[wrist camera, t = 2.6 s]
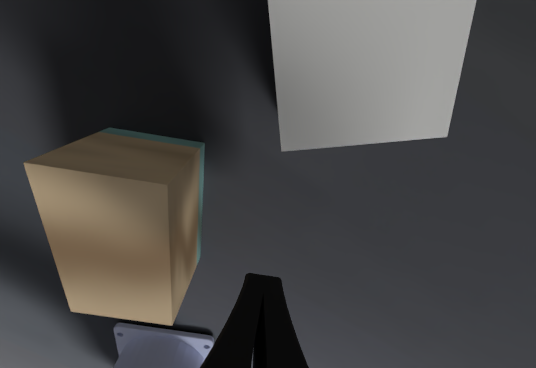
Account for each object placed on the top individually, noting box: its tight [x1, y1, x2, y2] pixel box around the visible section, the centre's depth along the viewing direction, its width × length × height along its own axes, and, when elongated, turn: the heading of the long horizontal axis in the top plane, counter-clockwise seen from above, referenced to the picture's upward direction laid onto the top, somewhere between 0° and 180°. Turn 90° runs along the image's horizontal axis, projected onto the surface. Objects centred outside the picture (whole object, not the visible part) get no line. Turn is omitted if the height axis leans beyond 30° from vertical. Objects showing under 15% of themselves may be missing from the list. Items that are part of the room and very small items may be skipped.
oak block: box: [23, 127, 205, 326], centre depth 13 cm, size 8×5×5 cm, turn 171°
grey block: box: [268, 0, 476, 151], centre depth 9 cm, size 5×5×5 cm
